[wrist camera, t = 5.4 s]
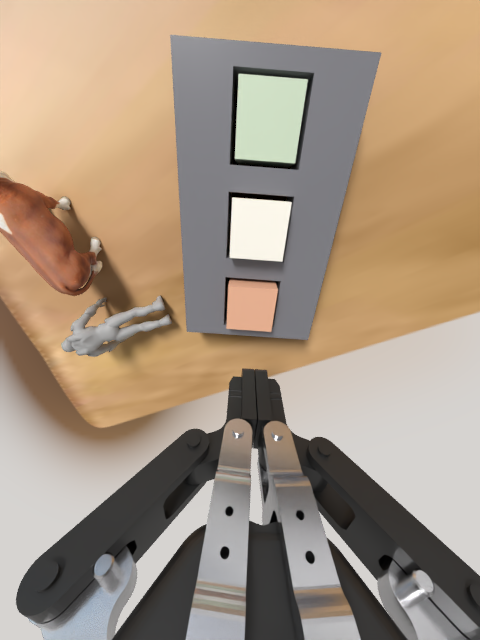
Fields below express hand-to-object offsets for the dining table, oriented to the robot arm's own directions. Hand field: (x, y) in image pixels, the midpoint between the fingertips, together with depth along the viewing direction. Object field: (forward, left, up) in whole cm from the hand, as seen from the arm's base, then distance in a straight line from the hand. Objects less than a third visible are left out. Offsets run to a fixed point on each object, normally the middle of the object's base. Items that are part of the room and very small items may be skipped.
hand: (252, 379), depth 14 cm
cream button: (0, -7, -13) cm, 15 cm away
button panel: (0, -7, -15) cm, 17 cm away
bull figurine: (+20, -6, -16) cm, 26 cm away
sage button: (0, -15, -14) cm, 21 cm away
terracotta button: (0, 0, -13) cm, 13 cm away
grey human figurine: (+15, +5, -16) cm, 23 cm away
